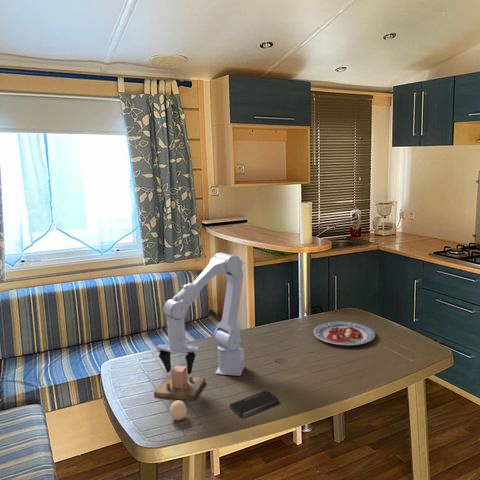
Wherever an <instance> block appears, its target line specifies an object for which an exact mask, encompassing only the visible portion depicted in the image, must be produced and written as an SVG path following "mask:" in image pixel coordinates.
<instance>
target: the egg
mask: <svg viewBox="0 0 480 480" xmlns="http://www.w3.org/2000/svg"><path fill="white" fill-rule="evenodd" d="M187 412H188V411H187V406H186V404H185V403H184V401H182V400H181V399H178V400H175V401H173V402H172V403H171V405H170V407H169V415H170V417H171V419H173V420H175V421H181V420H183V419H184V418H185V416H186V415H187Z"/></svg>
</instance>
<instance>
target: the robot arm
mask: <svg viewBox="0 0 480 480" xmlns="http://www.w3.org/2000/svg"><path fill="white" fill-rule="evenodd" d="M243 263H244V262H243V261H242V259H241V258H240V257H239V256H237V255H233V254H230V253H229V254H228V253H224V252H222V251H220V252H219V251H218V252H217V253H215V254H214V256H212V257H211V258H210V261H209V263H208V265H207V266H206V267H205V268H204V269H203V270H202V271H201V272H200V274H199V275H198V276H197V277H196V279H195V280H194V281H193V282H187V284H184V285H183V286H182V289H181V290H180V291H178V293H177V294H175V295H173V297H172V298H170V299H168V300H166V301H165V302H164V305H163V308H162V312H163V313H164V315H165V316H166V325H167V326H166V327H167V337H168V338H167V339H168V343H167V344H158V345H157V346H156V353H159V354H158V358H159V359H160V360H161V362H162V363H163V366H164V368H165V371H166V373H168V374H169V373H171V371H172V363H171V354H173V355H175V354H176V355H177V353H181V354H182V353H183V354H186V355H185V362H186V368H187V375H192V374H191V373H192V372H193V366H194V361H195V359H196V355H198V354H199V352H200V347H199V346H194V345H190V344H187V342H186V340H187V339H186V329H185V328H186V327H185V325H186V324H185V316H187V313H188V309H189V307H190V306H191V305H192V304H193V302H195V300H196V299H198V297H199V296H200V294H201V290H202V289H203V288H204V287H205V286H206V285H207V284H208V283H209V282H210V281H211V280H212V279H213V278H215V277H216V275H224V276H225V277H226V279H227V282H226V290H225V296H224V297H225V298H224V303H223V309H222V310H223V311H222V316H221V321H219V322H218V323H217V324H216V328H215V331H214V332H213V337H212V339H213V341H214V343H216V347H217V360H218V363H217V364H218V366H217V369H216V370H215V375H224V376H226V375H227V376H236V377H237V376H239V377H240V376H241V375H242V373H243V371H244V369H245V367H246V365H245V349H244V348H242V347H240V346H241V342H242V338H241V329H240V327H239V325H238V323H237V321H238V315H239V308H240V301H241V295H242V290H243V289H242V288H243V282H244V272H243V265H244V264H243Z"/></svg>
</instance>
